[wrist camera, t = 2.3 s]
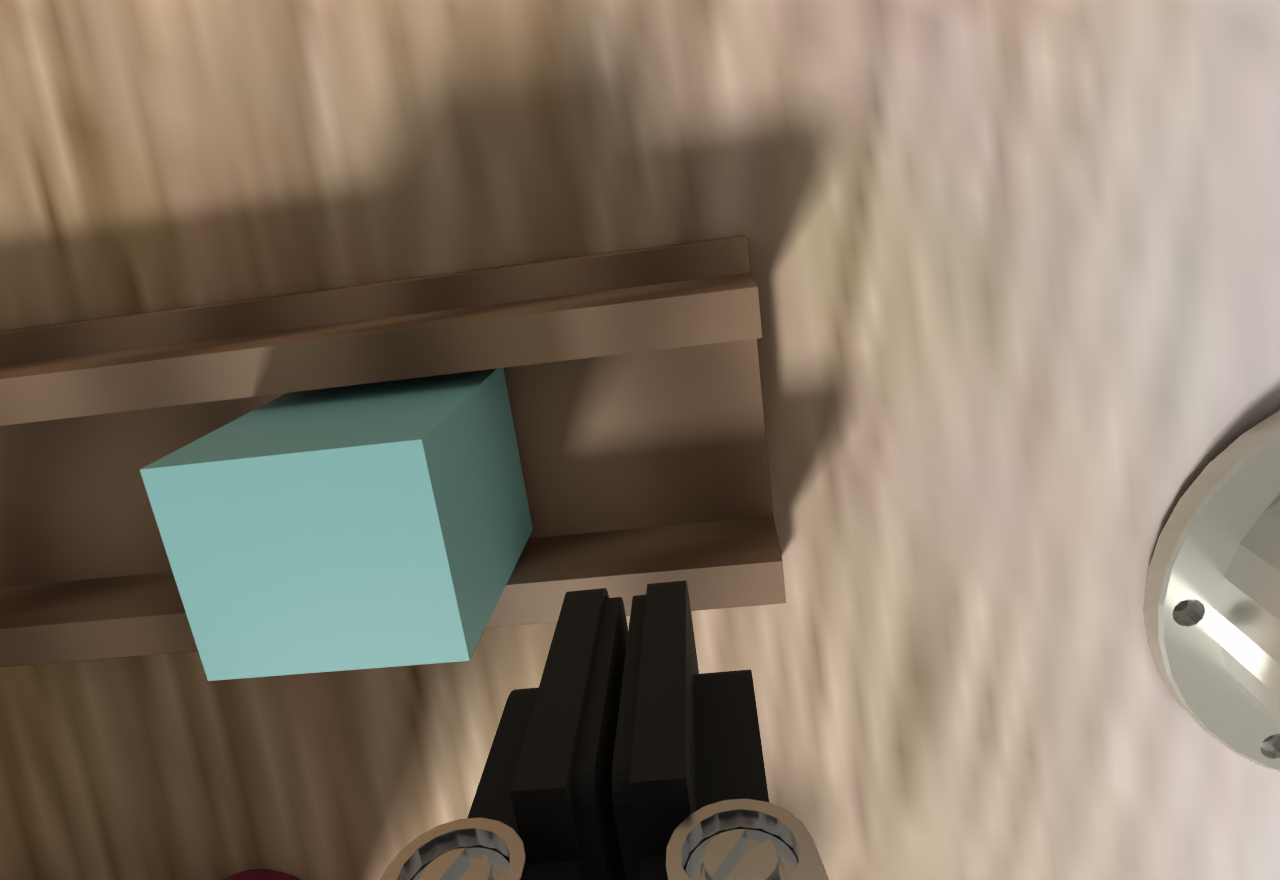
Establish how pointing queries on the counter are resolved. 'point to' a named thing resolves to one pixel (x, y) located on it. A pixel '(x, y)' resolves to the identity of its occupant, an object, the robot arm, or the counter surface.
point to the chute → (394, 350)
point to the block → (346, 526)
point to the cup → (261, 876)
